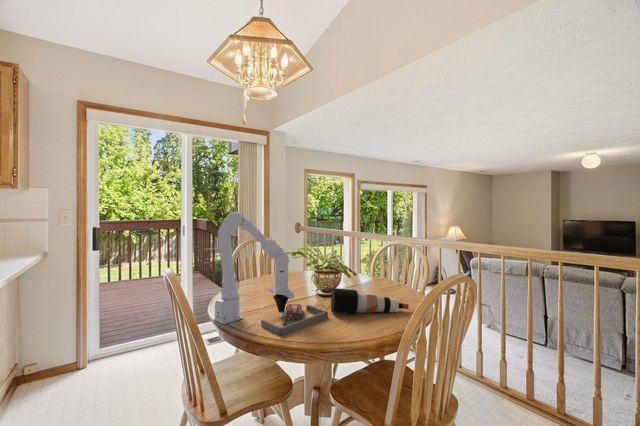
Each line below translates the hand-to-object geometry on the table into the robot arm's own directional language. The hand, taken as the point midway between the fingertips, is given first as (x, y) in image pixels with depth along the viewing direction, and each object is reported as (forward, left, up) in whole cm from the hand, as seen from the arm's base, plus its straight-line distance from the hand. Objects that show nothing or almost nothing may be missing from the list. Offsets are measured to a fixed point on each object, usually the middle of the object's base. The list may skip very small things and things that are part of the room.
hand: (281, 311), depth 126 cm
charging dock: (0, -9, -2) cm, 9 cm away
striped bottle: (+30, -24, -2) cm, 39 cm away
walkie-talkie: (+2, -5, -2) cm, 6 cm away
